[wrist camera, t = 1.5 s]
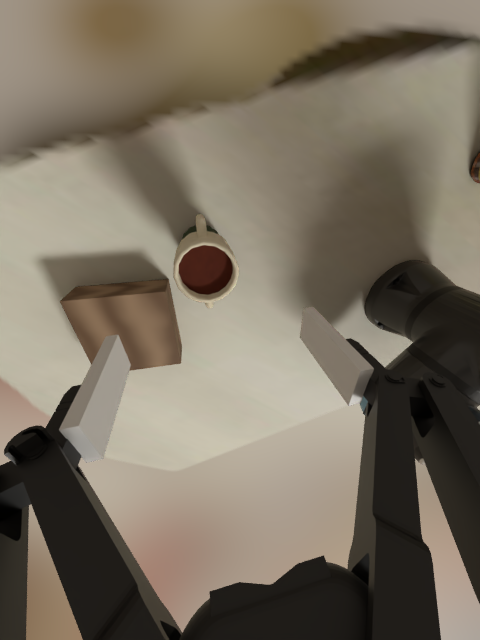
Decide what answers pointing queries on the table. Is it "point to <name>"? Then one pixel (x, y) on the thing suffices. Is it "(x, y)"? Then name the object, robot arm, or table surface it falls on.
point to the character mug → (205, 264)
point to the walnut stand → (127, 320)
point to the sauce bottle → (476, 169)
